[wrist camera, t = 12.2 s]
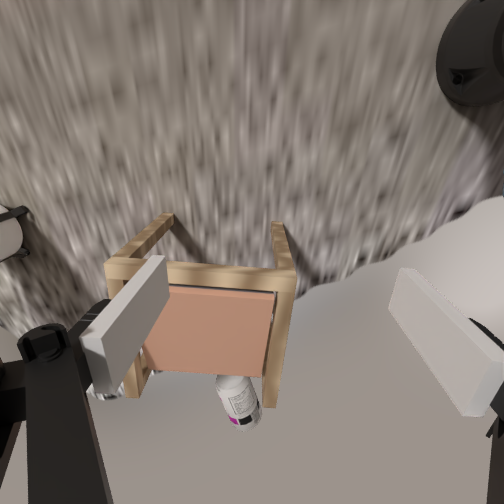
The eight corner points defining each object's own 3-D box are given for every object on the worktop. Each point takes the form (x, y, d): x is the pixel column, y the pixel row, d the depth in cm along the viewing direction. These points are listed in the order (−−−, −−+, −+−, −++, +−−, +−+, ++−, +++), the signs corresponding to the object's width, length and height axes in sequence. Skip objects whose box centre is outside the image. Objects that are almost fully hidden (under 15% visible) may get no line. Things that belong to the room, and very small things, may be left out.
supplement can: (228, 432, 67) (208, 391, 62) (237, 401, 75) (220, 362, 69) (258, 434, 65) (241, 392, 59) (265, 402, 72) (250, 362, 66)
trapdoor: (273, 285, 34) (274, 300, 32) (260, 362, 45) (260, 377, 43) (132, 274, 34) (124, 288, 32) (153, 355, 45) (148, 369, 43)
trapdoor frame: (282, 221, 52) (297, 278, 32) (269, 317, 62) (275, 408, 42) (163, 212, 52) (103, 263, 32) (169, 310, 61) (125, 397, 41)
